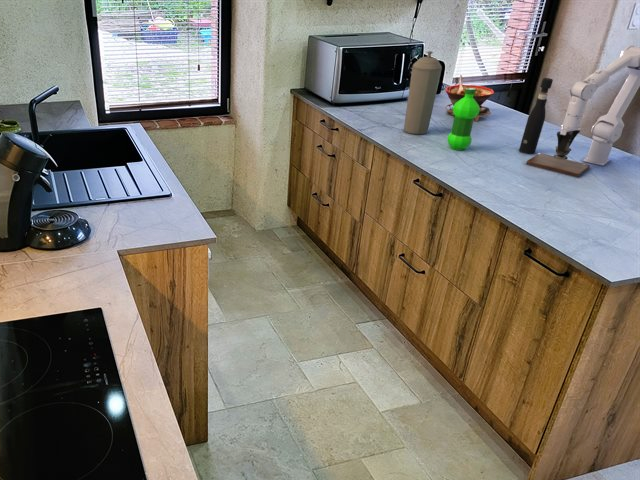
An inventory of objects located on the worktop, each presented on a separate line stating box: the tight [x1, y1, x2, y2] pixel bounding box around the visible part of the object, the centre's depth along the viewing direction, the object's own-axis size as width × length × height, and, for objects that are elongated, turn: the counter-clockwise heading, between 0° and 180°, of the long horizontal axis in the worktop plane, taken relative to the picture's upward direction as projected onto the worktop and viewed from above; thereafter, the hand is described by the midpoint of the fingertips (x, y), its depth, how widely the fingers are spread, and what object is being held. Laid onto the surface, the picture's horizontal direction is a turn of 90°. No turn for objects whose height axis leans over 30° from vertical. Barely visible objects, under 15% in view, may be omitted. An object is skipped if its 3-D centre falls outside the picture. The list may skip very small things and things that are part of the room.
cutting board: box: [526, 152, 591, 178], centre depth 239 cm, size 14×20×2 cm
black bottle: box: [518, 77, 554, 155], centre depth 246 cm, size 6×6×30 cm
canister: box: [403, 50, 443, 135], centre depth 266 cm, size 13×13×35 cm
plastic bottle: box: [447, 88, 480, 151], centre depth 249 cm, size 10×10×25 cm
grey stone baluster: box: [552, 131, 573, 160], centre depth 234 cm, size 6×6×12 cm
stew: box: [444, 74, 495, 122], centre depth 298 cm, size 28×24×16 cm
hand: (563, 149), depth 235 cm, fingers closed on grey stone baluster, 6 cm apart
